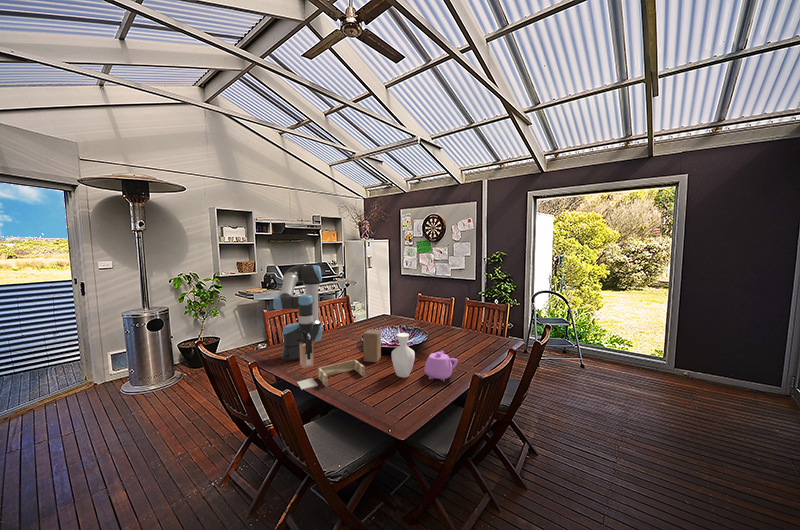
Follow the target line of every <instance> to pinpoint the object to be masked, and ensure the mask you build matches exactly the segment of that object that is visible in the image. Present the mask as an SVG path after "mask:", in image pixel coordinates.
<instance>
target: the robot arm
mask: <svg viewBox="0 0 800 530" xmlns="http://www.w3.org/2000/svg"><path fill="white" fill-rule="evenodd" d="M321 270H322V269H321V267H320V265H314V264H310V265H307V264H306V265H294V266H291V267H290V268H289V269H287V271H285V273H283V276H282V281H283V282H282V286H281V289H280V293H279V296H275V297H273V303H272V304H273V305H272V306H273V309H274V310H276V311H277V310H279V311H282V310H283V311H284V310H298V317H297V320H298V322H293V323H289V324H287V325H285V326H284V327H283V331H282V334H283V337H282V339H283V348H282V351H281V355H280V358H281V360H282V361H286V362H293V361H298V360H300V344H301V343H305V345H306V353H305V354H306V365H310V364H311V353H312V344H313V342H318V341H321V340H322V334H323V326H324V324H322V322H321V320H320V319H319V286H321V282H322V281H323V277H322V275H323V274H322V271H321ZM297 283H302V285H303V286H304V289H305V294H300V295H294V292H295V289H296V288H295V287H296V284H297Z"/></svg>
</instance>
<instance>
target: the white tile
mask: <svg viewBox="0 0 800 530" xmlns="http://www.w3.org/2000/svg"><path fill="white" fill-rule="evenodd" d="M296 383H297V385H298V387H299V389H300V390H301V391H303V389H304V390H307V389H311V388H315V387H318V385H319V384H318V383H317V382H316V381H315V380H314V378H313V377H311V378H307V379H303V380H300V381H296Z"/></svg>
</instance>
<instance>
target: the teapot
mask: <svg viewBox="0 0 800 530" xmlns="http://www.w3.org/2000/svg"><path fill="white" fill-rule="evenodd" d="M452 361H453V363H452ZM457 365H458V359H457V358H454V357H453V358H452V357H451V358H450V356H449V355H448V354H446V353H444V350H440V351H436V352H432V353H430V354H429V356H428V358H427V360H426V361H425V364H424V373H425V374H426V376H428V379H429V378H430V379H429V380H431V379H432V380H434V379H438V380H440V381H441V380H445V379H446V380H447V379H449V378H450V376H451V375H452V373H453V370H455V368H456V366H457ZM433 378H434V379H433Z"/></svg>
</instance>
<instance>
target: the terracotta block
mask: <svg viewBox="0 0 800 530" xmlns="http://www.w3.org/2000/svg"><path fill="white" fill-rule="evenodd" d="M305 353H306V345H305V343H301V344H300V359H299V365H300V366H301V368H302V369H305V368H309V367H313V366H314V361H315V359H314V344H313V343H312V353H311V364H310V365H306V354H305Z"/></svg>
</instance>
